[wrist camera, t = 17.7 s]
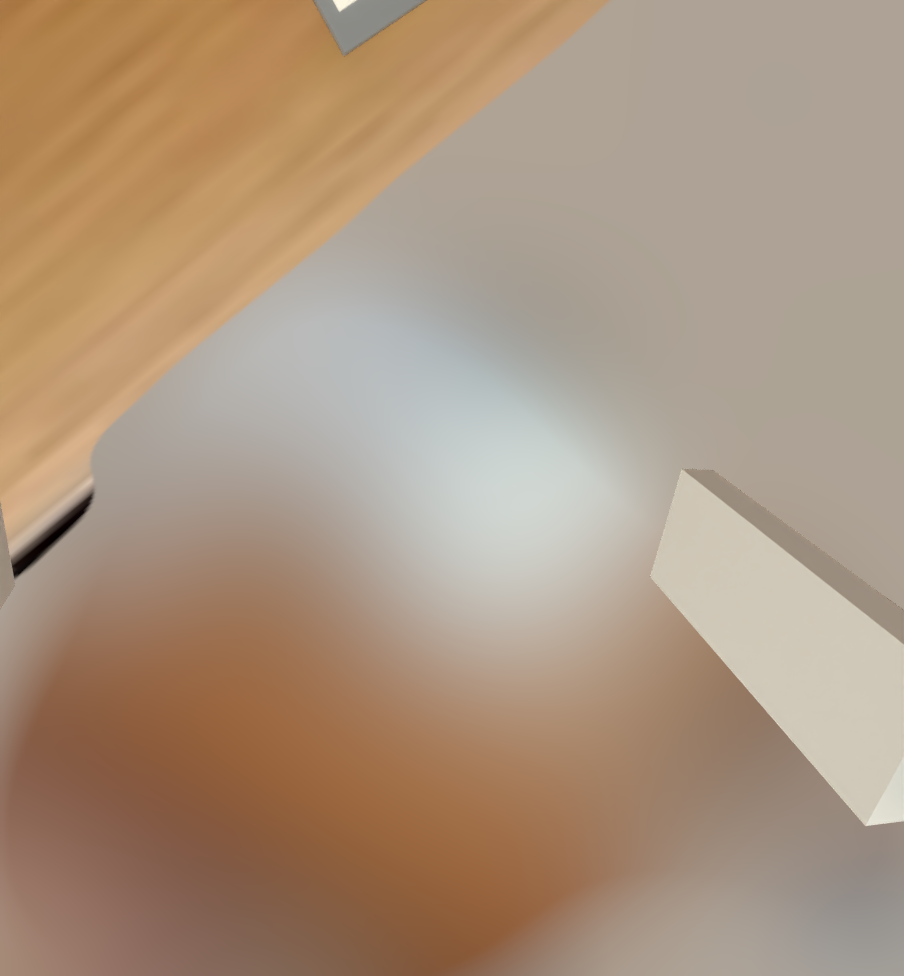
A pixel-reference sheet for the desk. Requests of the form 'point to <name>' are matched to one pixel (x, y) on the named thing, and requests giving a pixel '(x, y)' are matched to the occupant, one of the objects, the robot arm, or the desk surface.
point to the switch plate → (361, 18)
